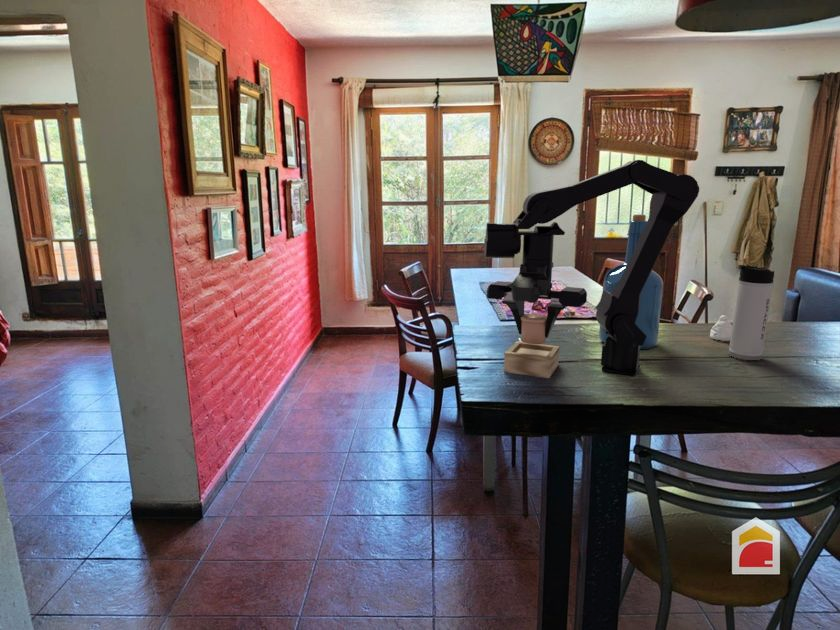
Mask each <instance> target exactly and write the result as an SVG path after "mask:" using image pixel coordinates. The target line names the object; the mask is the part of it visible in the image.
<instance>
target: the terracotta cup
mask: <svg viewBox="0 0 840 630" xmlns="http://www.w3.org/2000/svg"><path fill="white" fill-rule="evenodd" d="M521 320H522V324H521V334H520V342H524V343H528V344H543V345H544V344H545V343H546V342H547V338H545V329H546V322H547V315H546V314H541V313H524V314H523V315H521Z"/></svg>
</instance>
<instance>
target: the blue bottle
mask: <svg viewBox="0 0 840 630" xmlns="http://www.w3.org/2000/svg"><path fill="white" fill-rule="evenodd" d="M646 217H647V216H646V215H645V214H633V216H632V220H630V222H629V226H628V230H627V234H626V235H627V236H628V237H627V244H626V245H627V246H626V253H625V258H624V259H625V260H624V263H621V264H619V265H617V266H615V267H613V268H611V269H610V270H609V271H608V272H607V273H606V274H605V275H604V280H603V284H602V292H603V291H604V290H605V291H607V292H609V293H610V292H611V291H612V290H613V289H614V288H615V287H616V286H617V285H618V283H619V281H620V279H621V277H622V275H623V273H624V271H625V268H626V266H627V264H628V262H629V260H630V258H631V256H632V253H633V251H634V249H635V247H636V245H637V243H638V241H639V238H640V236H641V234H642V232H643V230H644V228H645V226H646V223H647V221H648V220H646V219H647V218H646ZM663 291H664V282H663V279H662V277H661V276H660V274H658V273H657V272H656V271H654V270H652V271H651V273H650V275H649V277H648V279H647V281H646V283H645V285H644V287H643V290H642V292H641V294H640V301H639V312H638V316H637V319H636V323H635V324H636V325H637V327H638V328H639V329H640V330H641V331H642V332H643V333H644V334H645V335H646V336H647V337H646V339H645V341H644V343H643V345H642V346H640V350H647V349H650V348H653V347H655V346H657V344H658V341H659V340H658V339H659V332H660V331H659V329H660V321H661V313H662V312H661V310H662V301H663V293H664V292H663ZM607 337H608V335H607V334H606V333H605V330H604V328H603V327H602V326H601V325H600V324H599V333H598V338H599V340H600V341H601V342H603V343H604V344H605V343H606V339H607Z"/></svg>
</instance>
